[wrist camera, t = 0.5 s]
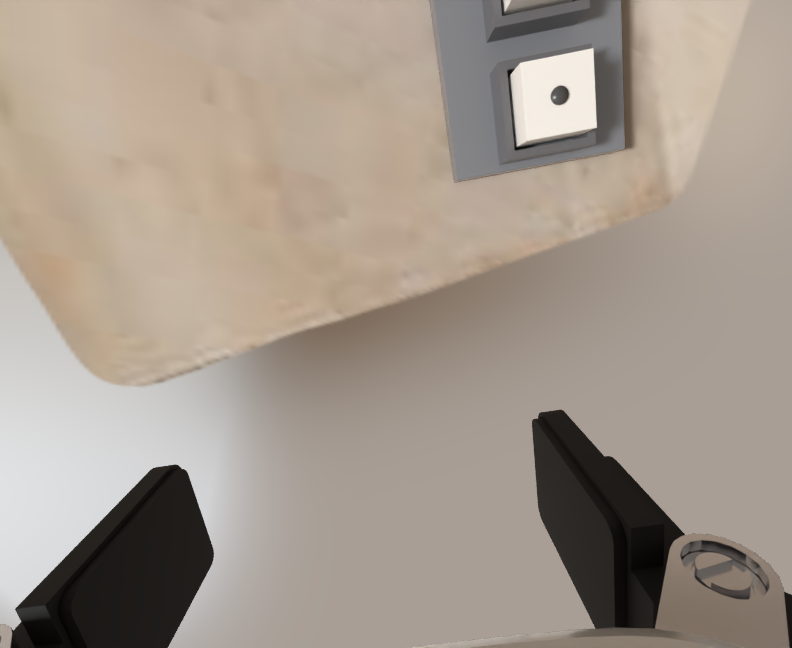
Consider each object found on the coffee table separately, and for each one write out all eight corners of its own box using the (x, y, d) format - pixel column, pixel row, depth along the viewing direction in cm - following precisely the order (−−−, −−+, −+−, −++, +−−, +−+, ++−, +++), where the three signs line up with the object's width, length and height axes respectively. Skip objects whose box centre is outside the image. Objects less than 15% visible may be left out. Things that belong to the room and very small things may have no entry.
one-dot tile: (507, 78, 30) (520, 61, 27) (573, 65, 29) (594, 47, 26) (514, 148, 31) (527, 140, 28) (577, 136, 31) (597, 127, 28)
